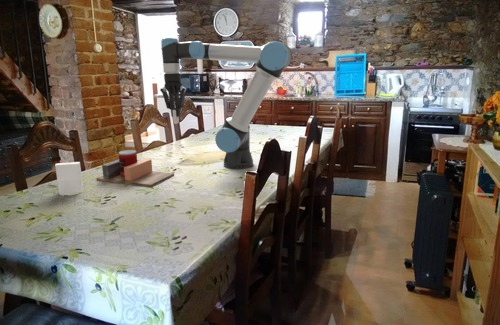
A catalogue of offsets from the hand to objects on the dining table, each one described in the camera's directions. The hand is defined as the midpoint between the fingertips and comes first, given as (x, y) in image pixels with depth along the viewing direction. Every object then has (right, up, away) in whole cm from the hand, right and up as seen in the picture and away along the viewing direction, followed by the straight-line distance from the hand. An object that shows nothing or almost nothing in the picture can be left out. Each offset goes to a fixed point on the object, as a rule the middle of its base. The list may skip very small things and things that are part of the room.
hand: (176, 123), depth 179 cm
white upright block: (-38, -31, -27) cm, 55 cm away
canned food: (-20, -25, -7) cm, 33 cm away
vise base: (-17, -26, -8) cm, 32 cm away
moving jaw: (-15, -25, -9) cm, 30 cm away
